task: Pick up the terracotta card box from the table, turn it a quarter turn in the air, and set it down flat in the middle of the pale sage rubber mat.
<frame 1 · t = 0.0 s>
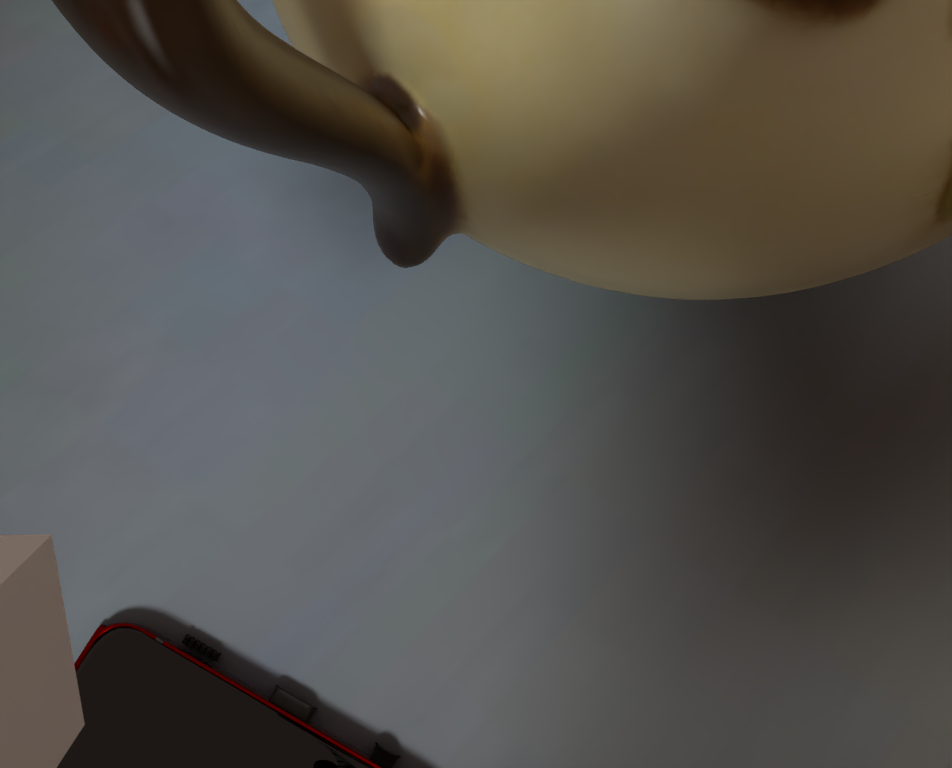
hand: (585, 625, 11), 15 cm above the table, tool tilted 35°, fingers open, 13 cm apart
pitcher: (643, 123, 32), on the table
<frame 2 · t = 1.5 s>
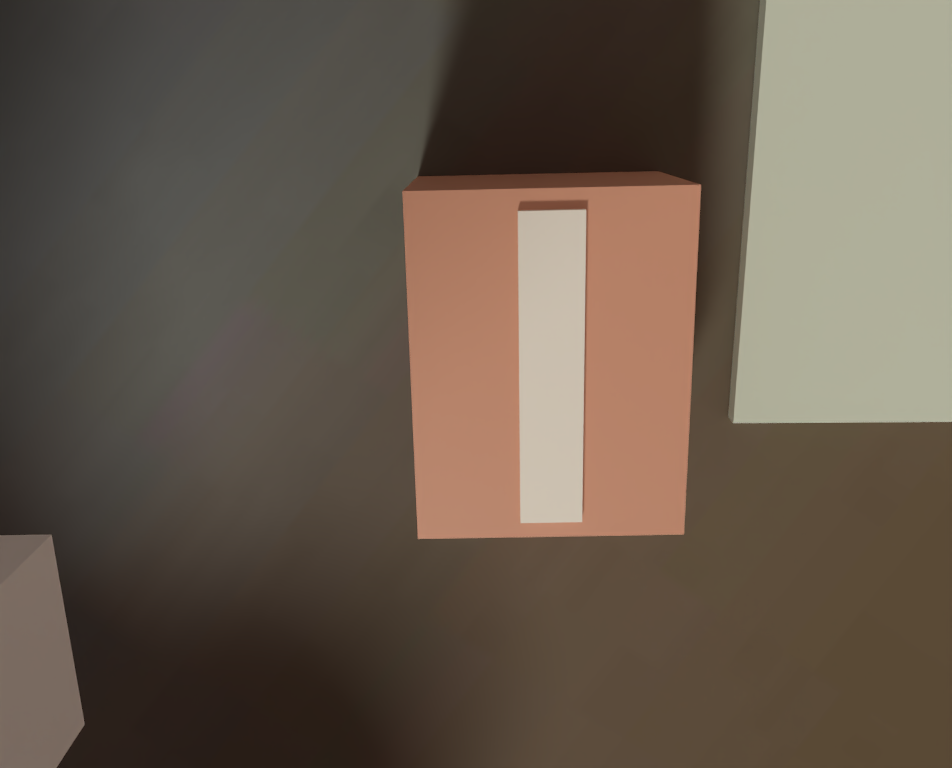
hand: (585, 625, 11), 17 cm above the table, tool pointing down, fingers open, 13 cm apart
card box: (537, 323, 28), on the table
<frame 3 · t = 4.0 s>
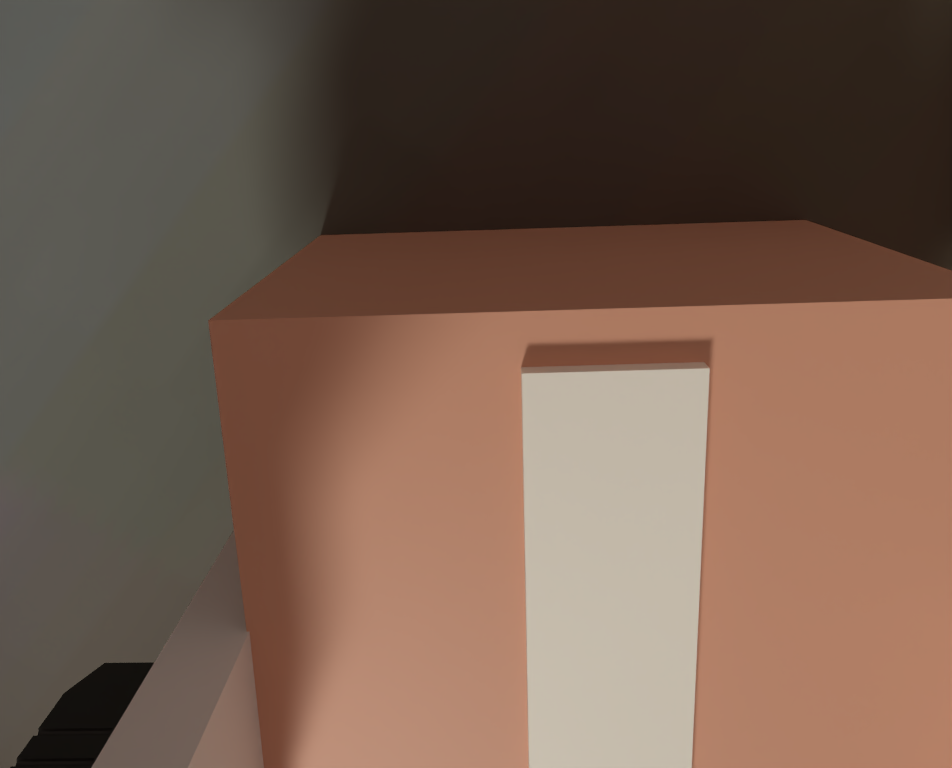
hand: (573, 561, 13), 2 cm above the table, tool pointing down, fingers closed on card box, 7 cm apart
card box: (563, 512, 14), on the table, touching gripper
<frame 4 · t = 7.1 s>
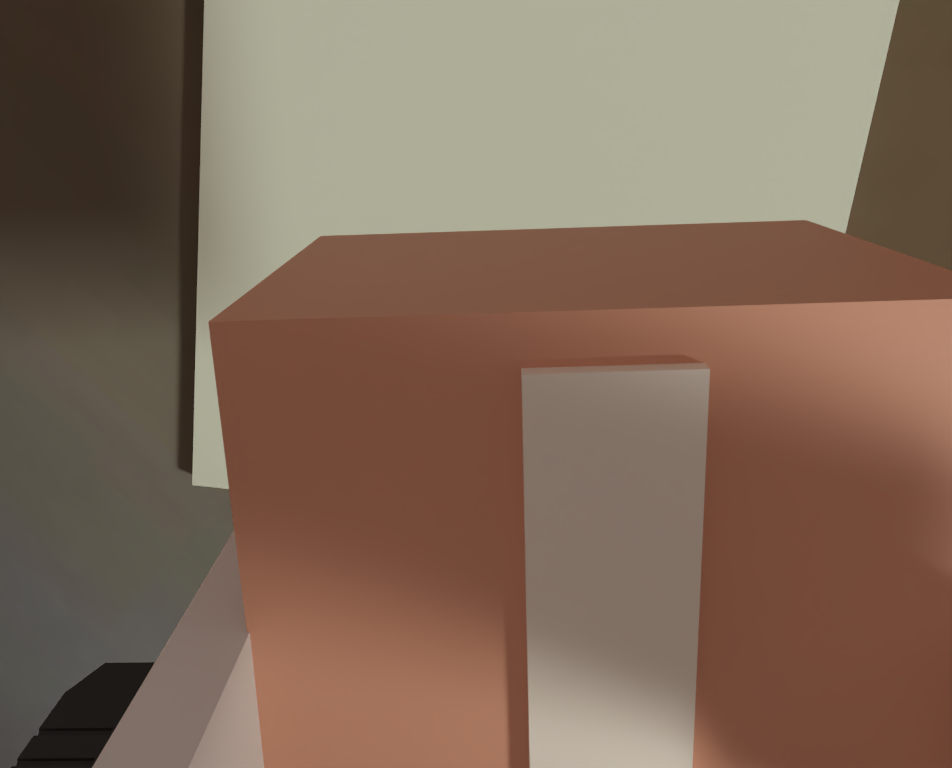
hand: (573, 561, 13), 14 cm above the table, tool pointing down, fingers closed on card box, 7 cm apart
card box: (563, 512, 14), point 13 cm above the table, touching gripper
mat: (515, 257, 26), on the table
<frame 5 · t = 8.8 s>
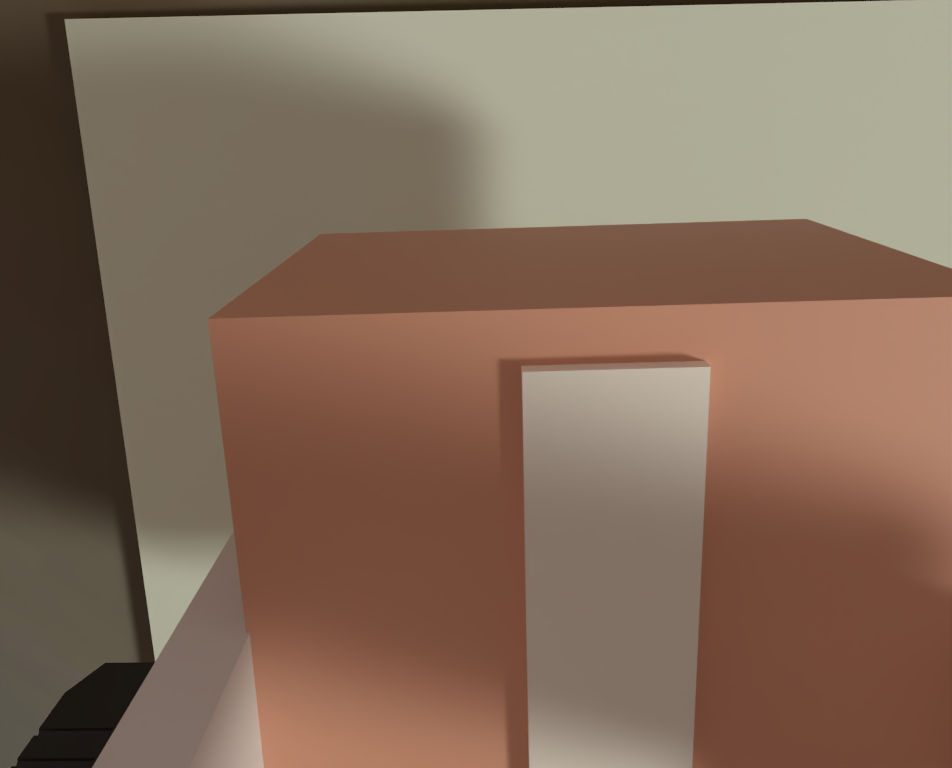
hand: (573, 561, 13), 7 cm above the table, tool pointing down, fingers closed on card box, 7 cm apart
card box: (563, 511, 14), point 5 cm above the table, touching gripper
mat: (550, 414, 19), on the table
when the fingers open (4 cm above the table, at t = 10.2 s): card box drops 1 cm, resting on mat.
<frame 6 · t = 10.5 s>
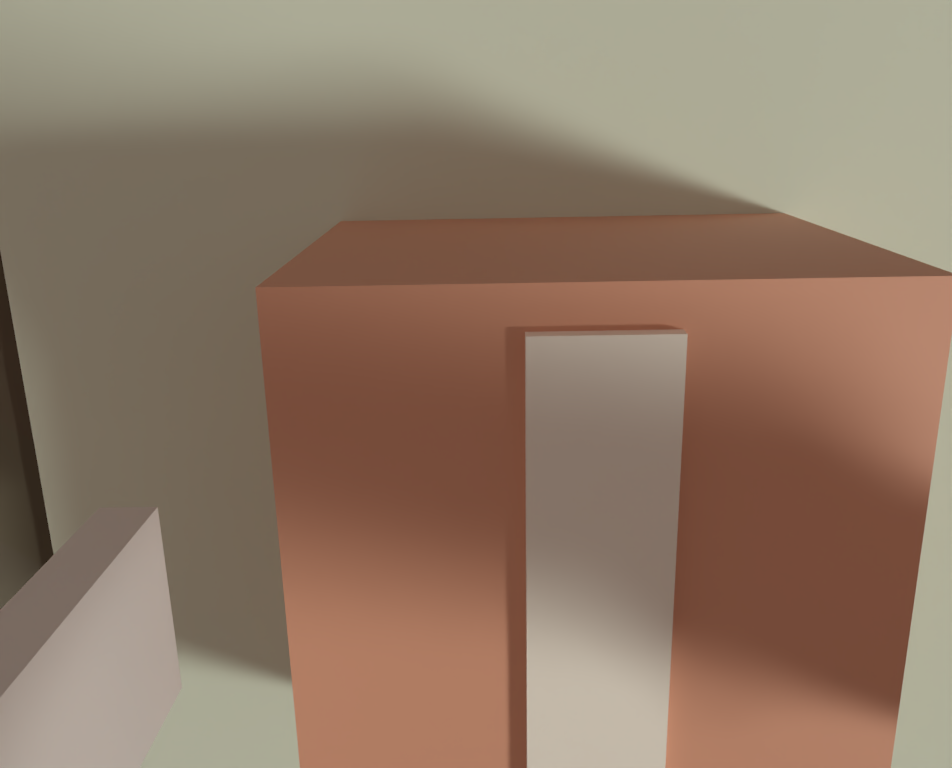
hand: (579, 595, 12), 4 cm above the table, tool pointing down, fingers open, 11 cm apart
card box: (559, 480, 16), point 1 cm above the table, touching mat
mat: (555, 465, 16), on the table
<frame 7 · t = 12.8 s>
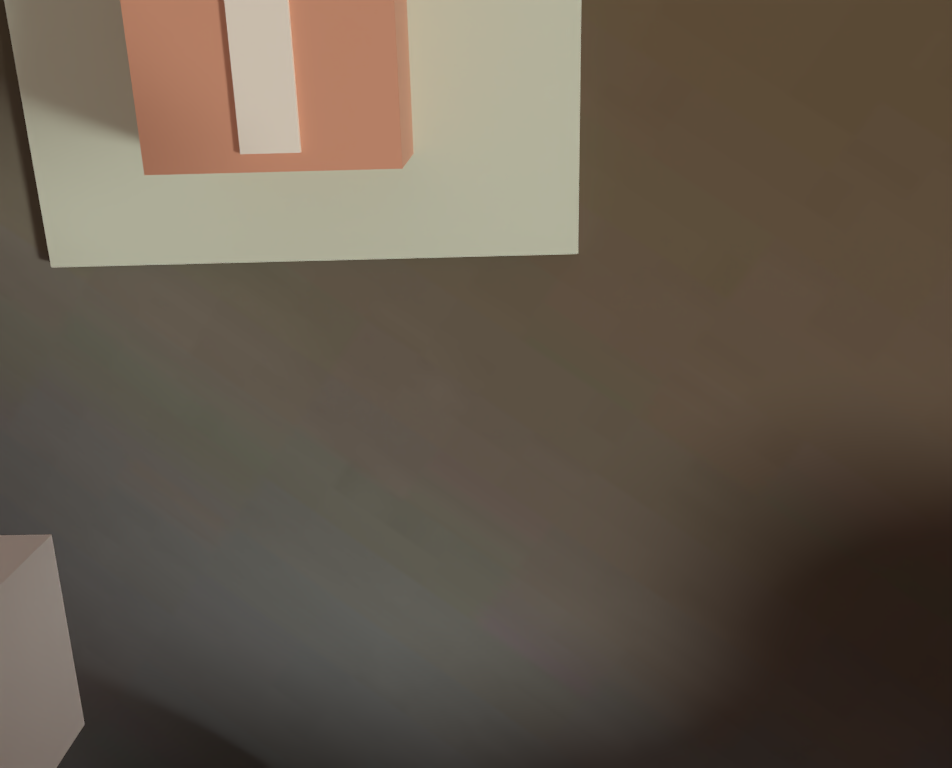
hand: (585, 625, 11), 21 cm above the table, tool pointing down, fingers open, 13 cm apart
card box: (295, 8, 28), point 1 cm above the table, touching mat
mat: (297, 9, 29), on the table
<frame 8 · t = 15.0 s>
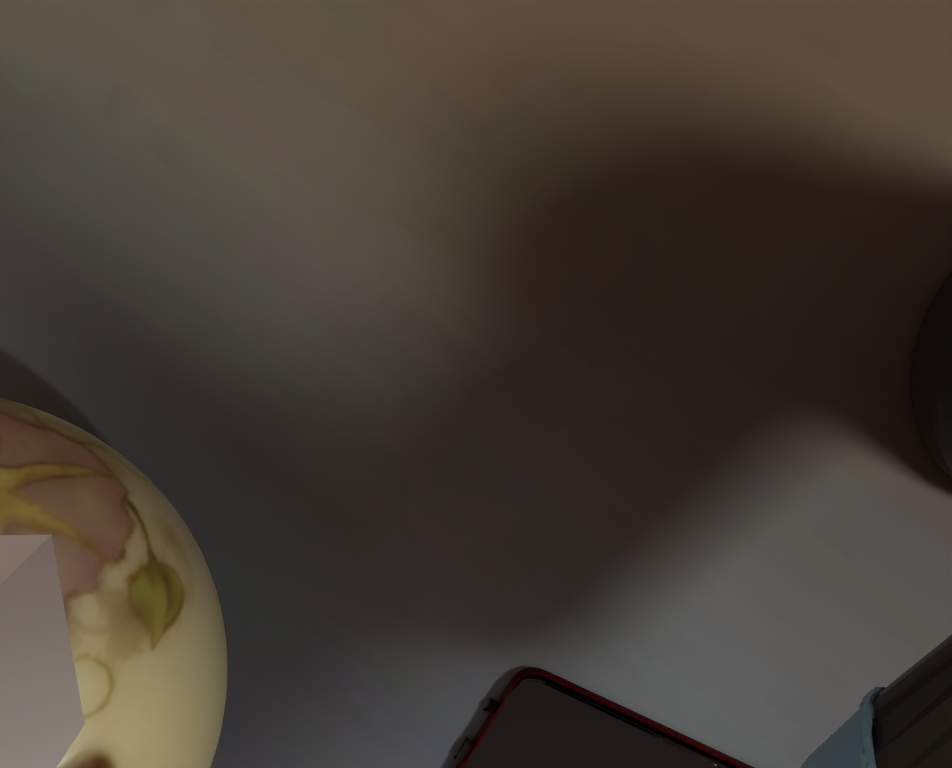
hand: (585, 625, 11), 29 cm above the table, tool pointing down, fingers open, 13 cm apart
pitcher: (60, 553, 43), on the table
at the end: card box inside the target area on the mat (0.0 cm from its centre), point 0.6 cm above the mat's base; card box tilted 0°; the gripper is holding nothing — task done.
